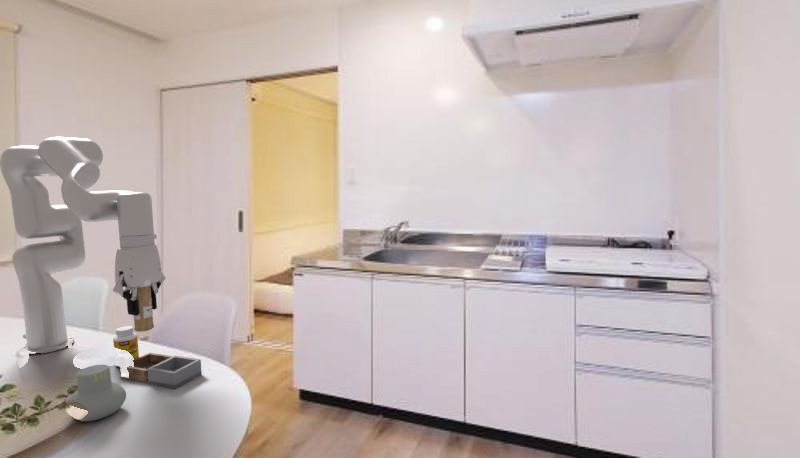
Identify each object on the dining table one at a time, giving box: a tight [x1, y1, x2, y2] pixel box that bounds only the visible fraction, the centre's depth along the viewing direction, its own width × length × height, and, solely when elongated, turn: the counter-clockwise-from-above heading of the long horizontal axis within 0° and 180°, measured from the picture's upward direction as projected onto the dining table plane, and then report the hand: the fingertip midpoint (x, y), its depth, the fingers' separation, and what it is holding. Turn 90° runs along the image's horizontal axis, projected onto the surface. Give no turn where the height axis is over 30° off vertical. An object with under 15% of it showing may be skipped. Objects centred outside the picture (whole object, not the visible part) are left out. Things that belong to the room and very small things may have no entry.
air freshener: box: [65, 364, 127, 423], centre depth 95 cm, size 11×8×10 cm
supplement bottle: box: [113, 325, 140, 360], centre depth 120 cm, size 6×6×10 cm
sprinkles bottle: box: [132, 280, 155, 333], centre depth 114 cm, size 5×5×14 cm
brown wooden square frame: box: [127, 352, 173, 383], centre depth 116 cm, size 9×9×3 cm
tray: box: [147, 355, 203, 390], centre depth 111 cm, size 8×8×4 cm
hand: (142, 310), depth 114 cm, fingers closed on sprinkles bottle, 4 cm apart
